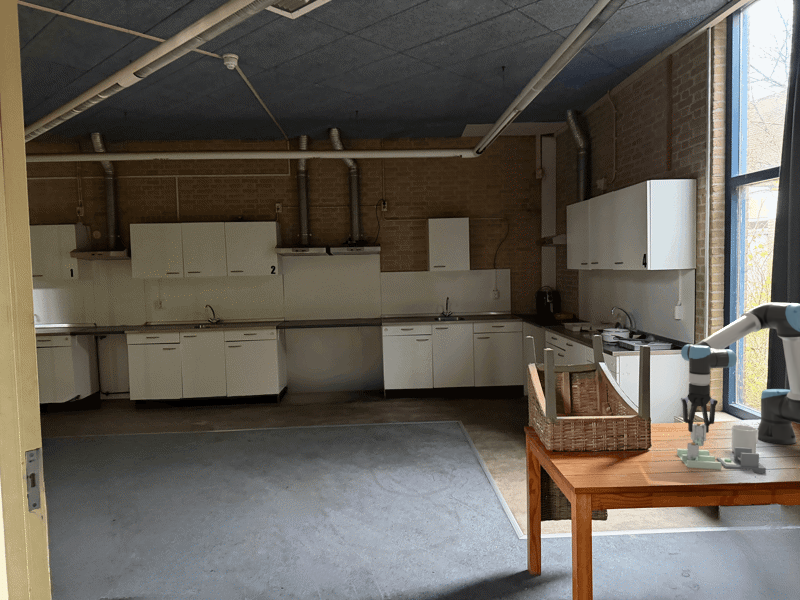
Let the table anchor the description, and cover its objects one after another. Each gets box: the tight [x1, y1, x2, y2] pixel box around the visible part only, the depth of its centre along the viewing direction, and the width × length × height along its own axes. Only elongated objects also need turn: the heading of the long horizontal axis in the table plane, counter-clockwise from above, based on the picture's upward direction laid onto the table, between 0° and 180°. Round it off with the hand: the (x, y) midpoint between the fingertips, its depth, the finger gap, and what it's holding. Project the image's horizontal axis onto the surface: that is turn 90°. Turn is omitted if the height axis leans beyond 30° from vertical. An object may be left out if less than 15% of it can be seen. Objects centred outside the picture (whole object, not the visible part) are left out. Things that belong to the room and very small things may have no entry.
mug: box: [731, 424, 759, 453], centre depth 231 cm, size 12×9×11 cm
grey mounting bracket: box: [716, 447, 767, 474], centre depth 215 cm, size 14×10×7 cm
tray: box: [676, 448, 722, 470], centre depth 219 cm, size 12×15×4 cm
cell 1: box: [686, 441, 700, 461], centre depth 216 cm, size 4×4×9 cm
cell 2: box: [692, 422, 705, 447], centre depth 222 cm, size 4×4×9 cm
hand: (698, 439), depth 222 cm, fingers closed on cell 2, 3 cm apart
